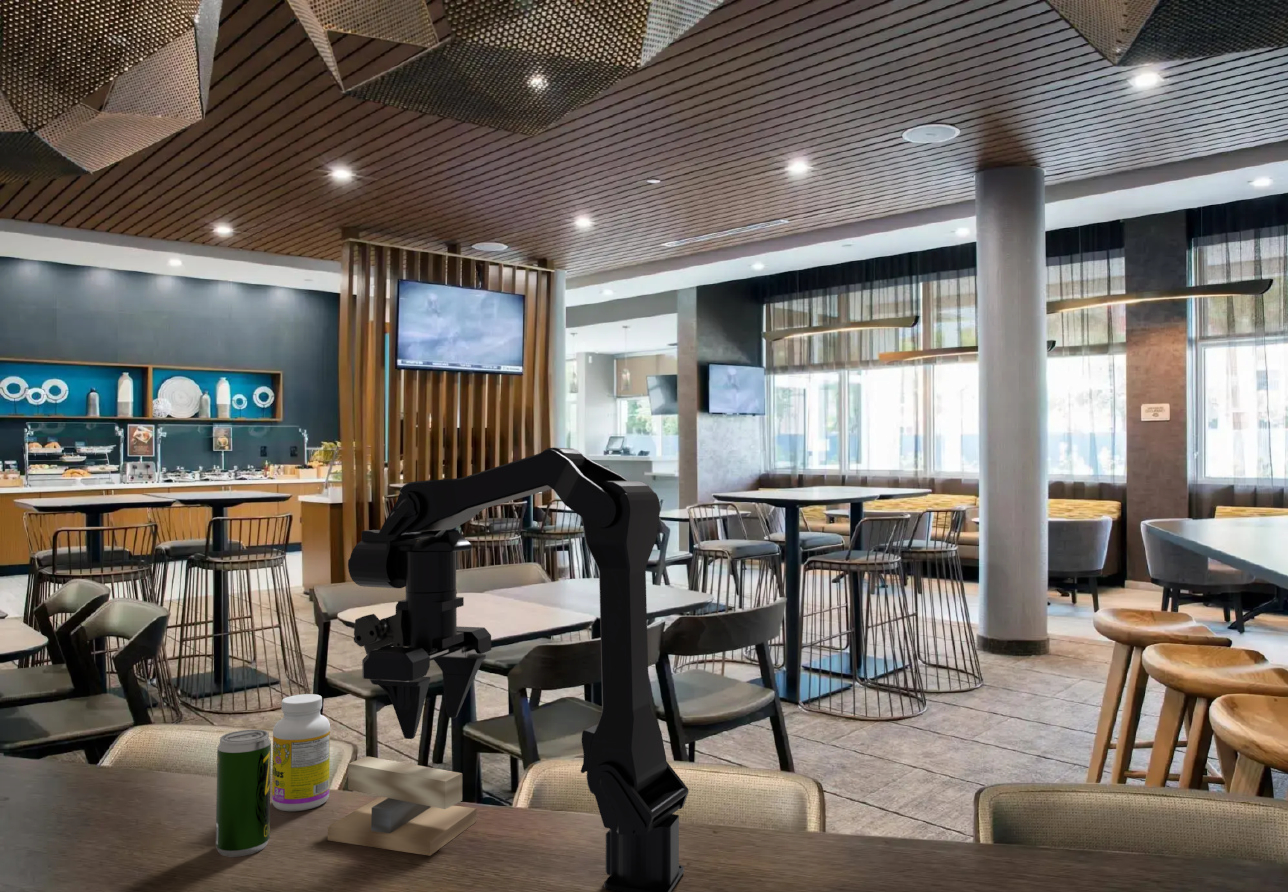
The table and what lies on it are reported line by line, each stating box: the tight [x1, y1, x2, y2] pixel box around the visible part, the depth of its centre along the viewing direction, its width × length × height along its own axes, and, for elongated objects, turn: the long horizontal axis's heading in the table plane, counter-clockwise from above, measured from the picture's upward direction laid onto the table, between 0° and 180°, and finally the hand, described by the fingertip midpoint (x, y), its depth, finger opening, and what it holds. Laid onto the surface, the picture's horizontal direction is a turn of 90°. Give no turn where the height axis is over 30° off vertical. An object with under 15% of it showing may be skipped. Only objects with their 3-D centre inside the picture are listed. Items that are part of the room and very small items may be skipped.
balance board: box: [327, 796, 478, 856], centre depth 102 cm, size 13×10×4 cm
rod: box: [347, 756, 463, 809], centre depth 102 cm, size 14×3×3 cm, turn 64°
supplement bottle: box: [271, 693, 331, 812], centre depth 111 cm, size 7×7×13 cm
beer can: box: [215, 729, 272, 858], centre depth 98 cm, size 5×5×12 cm
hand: (431, 727), depth 103 cm, fingers open, 9 cm apart
